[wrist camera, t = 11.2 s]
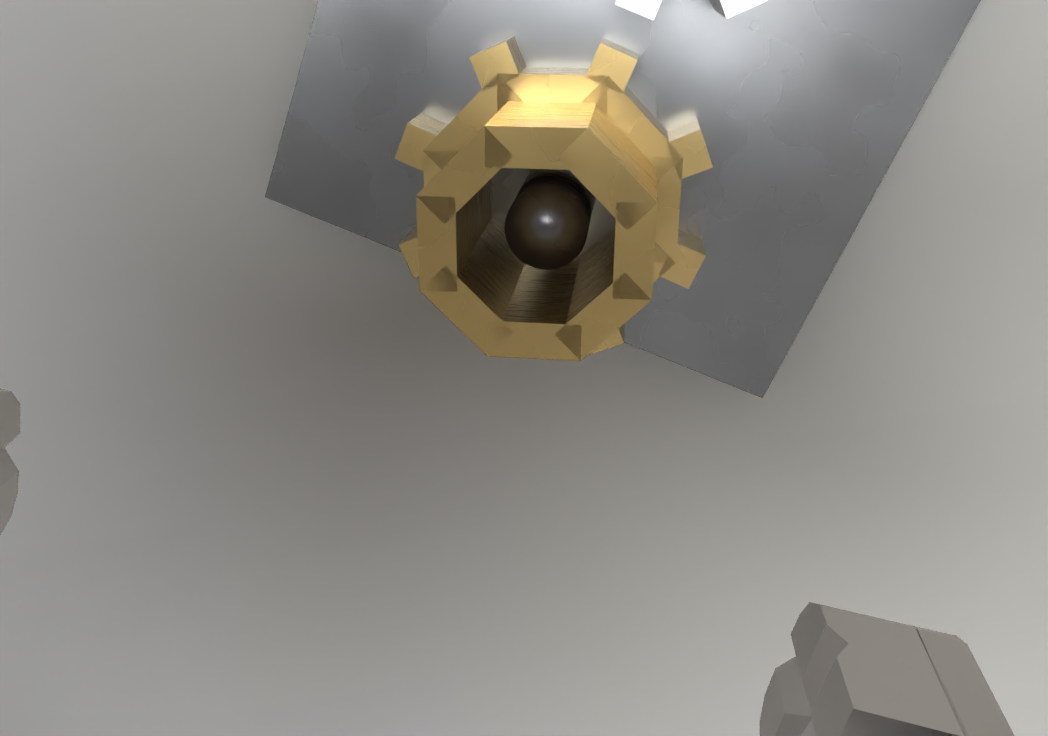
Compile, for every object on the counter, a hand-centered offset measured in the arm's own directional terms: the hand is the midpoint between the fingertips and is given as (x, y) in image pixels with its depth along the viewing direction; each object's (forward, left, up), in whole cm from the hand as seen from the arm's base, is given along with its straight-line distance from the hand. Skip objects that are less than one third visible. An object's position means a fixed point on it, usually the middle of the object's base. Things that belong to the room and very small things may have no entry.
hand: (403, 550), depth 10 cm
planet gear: (0, 0, -16) cm, 16 cm away
